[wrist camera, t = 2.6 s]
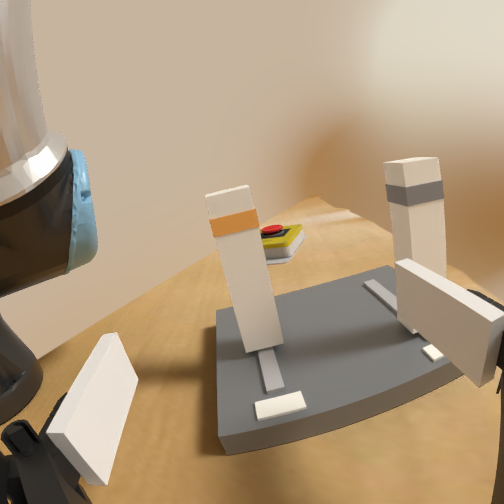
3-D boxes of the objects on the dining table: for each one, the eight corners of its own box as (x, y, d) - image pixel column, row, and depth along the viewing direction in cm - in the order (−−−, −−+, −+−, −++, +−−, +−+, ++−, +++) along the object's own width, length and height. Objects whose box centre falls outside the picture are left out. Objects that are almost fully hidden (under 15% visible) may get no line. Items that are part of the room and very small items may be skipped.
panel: (490, 358, 18) (495, 334, 17) (227, 455, 17) (216, 433, 16) (389, 280, 35) (387, 262, 34) (221, 326, 34) (215, 308, 34)
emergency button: (304, 215, 61) (283, 239, 48) (307, 237, 62) (289, 266, 49) (259, 221, 65) (228, 245, 52) (264, 242, 66) (235, 270, 53)
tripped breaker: (284, 343, 24) (250, 186, 21) (245, 353, 24) (203, 197, 20) (278, 327, 26) (247, 184, 23) (242, 336, 26) (205, 194, 23)
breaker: (445, 321, 20) (439, 157, 17) (412, 334, 20) (401, 163, 17) (427, 307, 23) (417, 157, 20) (396, 319, 23) (381, 162, 20)
